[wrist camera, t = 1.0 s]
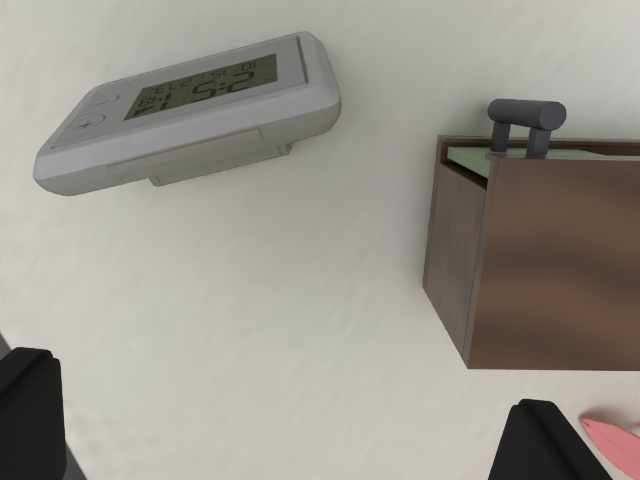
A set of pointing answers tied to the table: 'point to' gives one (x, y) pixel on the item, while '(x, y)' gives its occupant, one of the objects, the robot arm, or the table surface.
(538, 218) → the cabinet
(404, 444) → the table surface
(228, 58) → the digital clock
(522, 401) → the robot arm
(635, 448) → the figurine
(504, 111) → the sliding door
